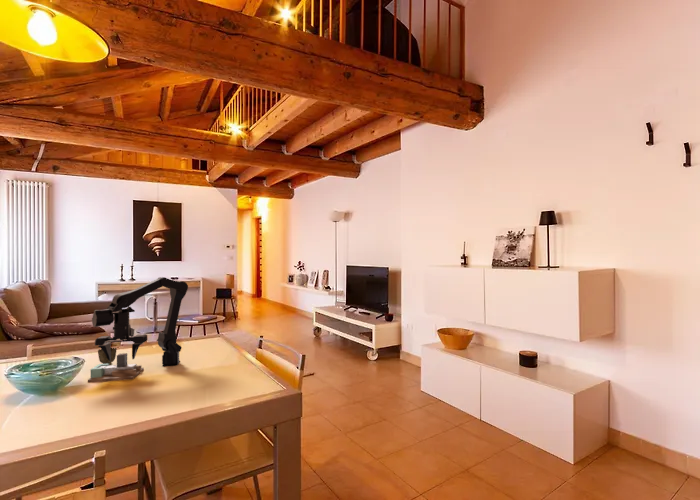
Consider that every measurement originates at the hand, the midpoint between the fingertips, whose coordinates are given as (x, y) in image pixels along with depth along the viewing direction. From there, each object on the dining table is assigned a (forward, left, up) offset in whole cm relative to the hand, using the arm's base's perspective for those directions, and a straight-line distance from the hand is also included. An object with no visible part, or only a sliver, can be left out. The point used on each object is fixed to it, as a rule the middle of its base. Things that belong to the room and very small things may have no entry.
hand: (121, 359), depth 160 cm
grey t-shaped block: (+2, 0, -5) cm, 6 cm away
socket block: (+8, 0, -7) cm, 11 cm away
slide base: (+1, 0, -7) cm, 7 cm away
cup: (+12, -17, -7) cm, 22 cm away
